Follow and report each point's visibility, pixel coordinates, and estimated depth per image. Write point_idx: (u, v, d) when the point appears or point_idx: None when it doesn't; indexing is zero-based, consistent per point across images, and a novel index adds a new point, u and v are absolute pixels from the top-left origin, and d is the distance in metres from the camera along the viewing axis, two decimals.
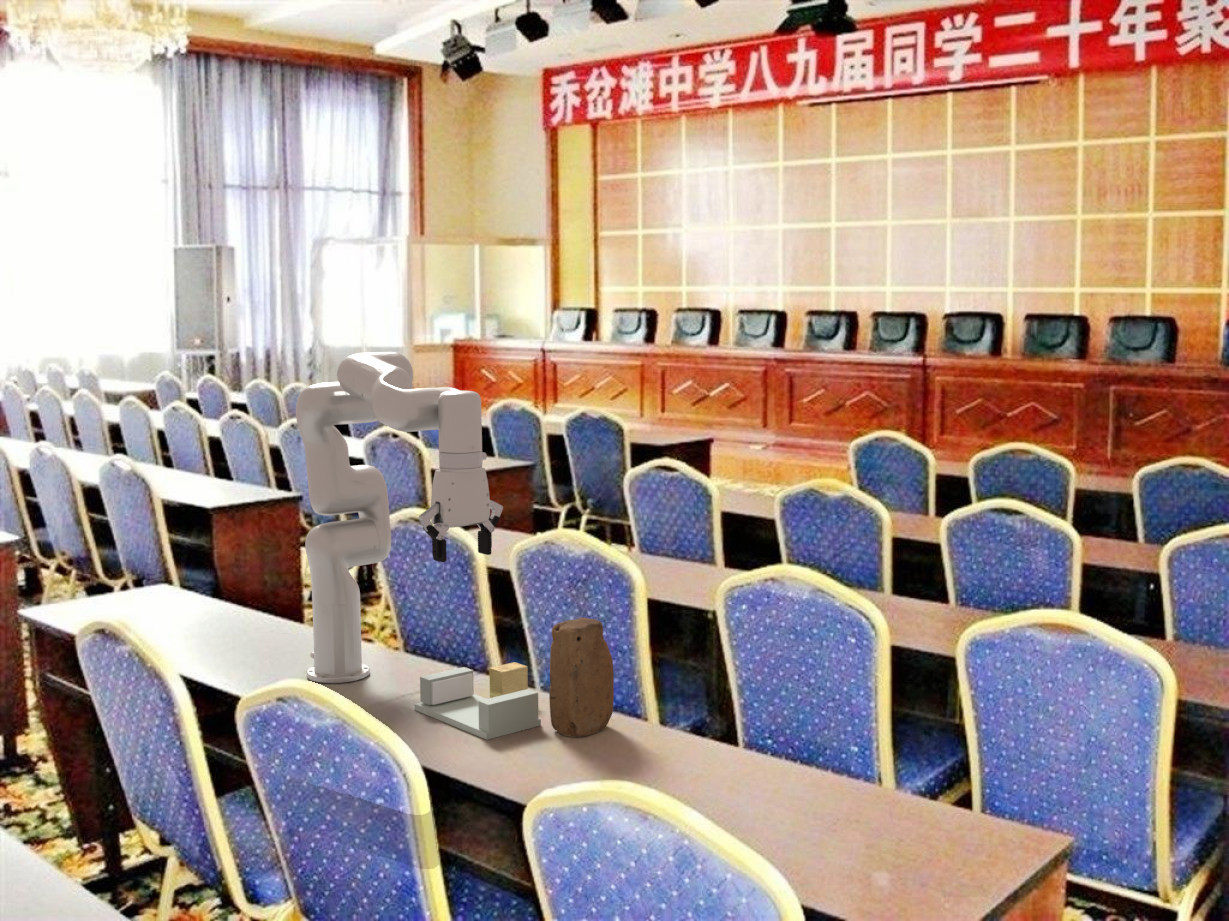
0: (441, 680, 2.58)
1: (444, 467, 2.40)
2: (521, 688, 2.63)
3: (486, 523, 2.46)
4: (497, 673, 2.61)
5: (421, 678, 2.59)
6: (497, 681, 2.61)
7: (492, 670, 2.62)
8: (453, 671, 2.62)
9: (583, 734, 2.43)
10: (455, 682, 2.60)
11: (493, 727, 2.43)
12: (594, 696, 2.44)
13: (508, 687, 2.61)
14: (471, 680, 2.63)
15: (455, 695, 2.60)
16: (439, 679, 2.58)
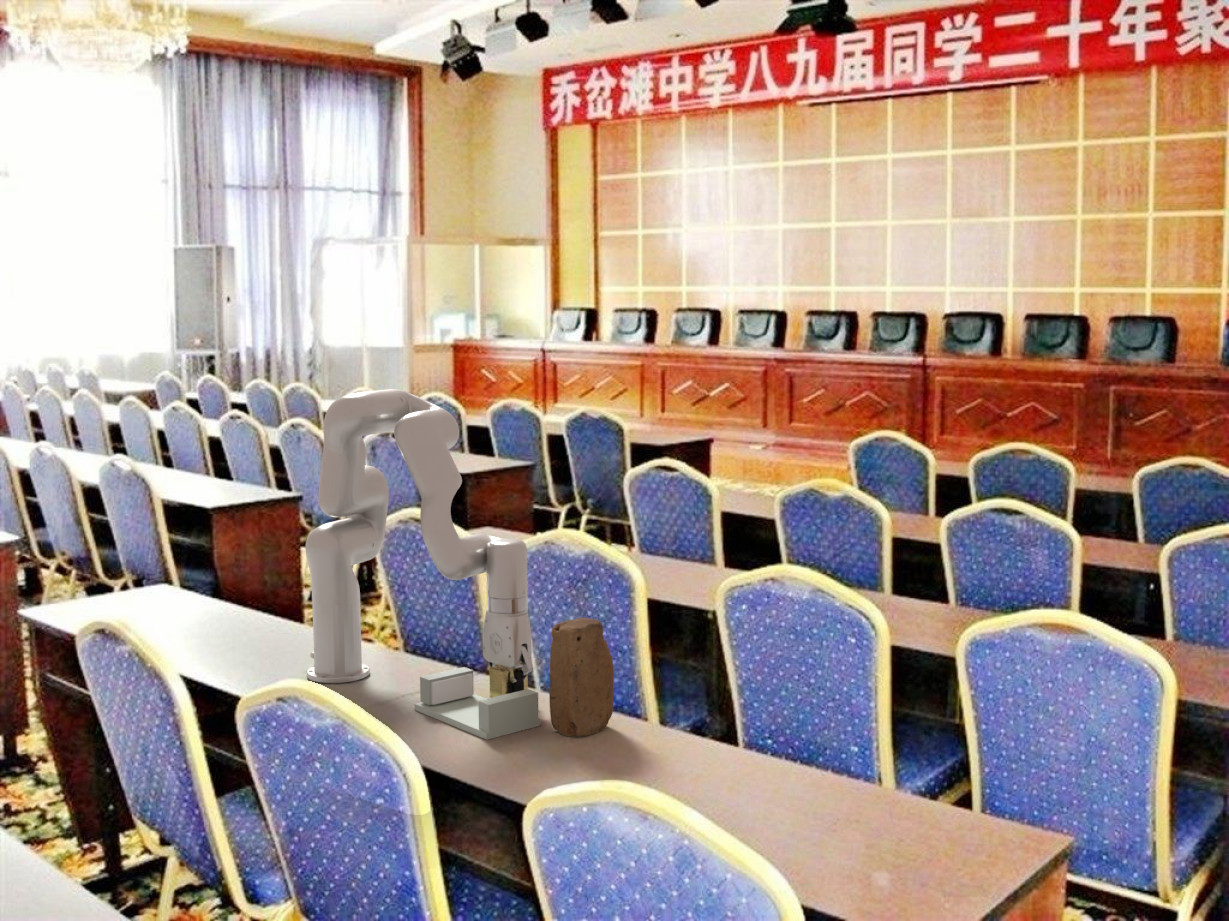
0: (441, 680, 2.58)
1: (520, 611, 2.59)
2: None
3: None
4: (497, 673, 2.61)
5: (421, 678, 2.59)
6: (497, 680, 2.61)
7: (492, 670, 2.62)
8: (453, 671, 2.62)
9: (583, 734, 2.43)
10: (455, 682, 2.60)
11: (493, 727, 2.43)
12: (594, 696, 2.44)
13: (508, 687, 2.61)
14: (471, 680, 2.63)
15: (455, 695, 2.60)
16: (439, 679, 2.58)
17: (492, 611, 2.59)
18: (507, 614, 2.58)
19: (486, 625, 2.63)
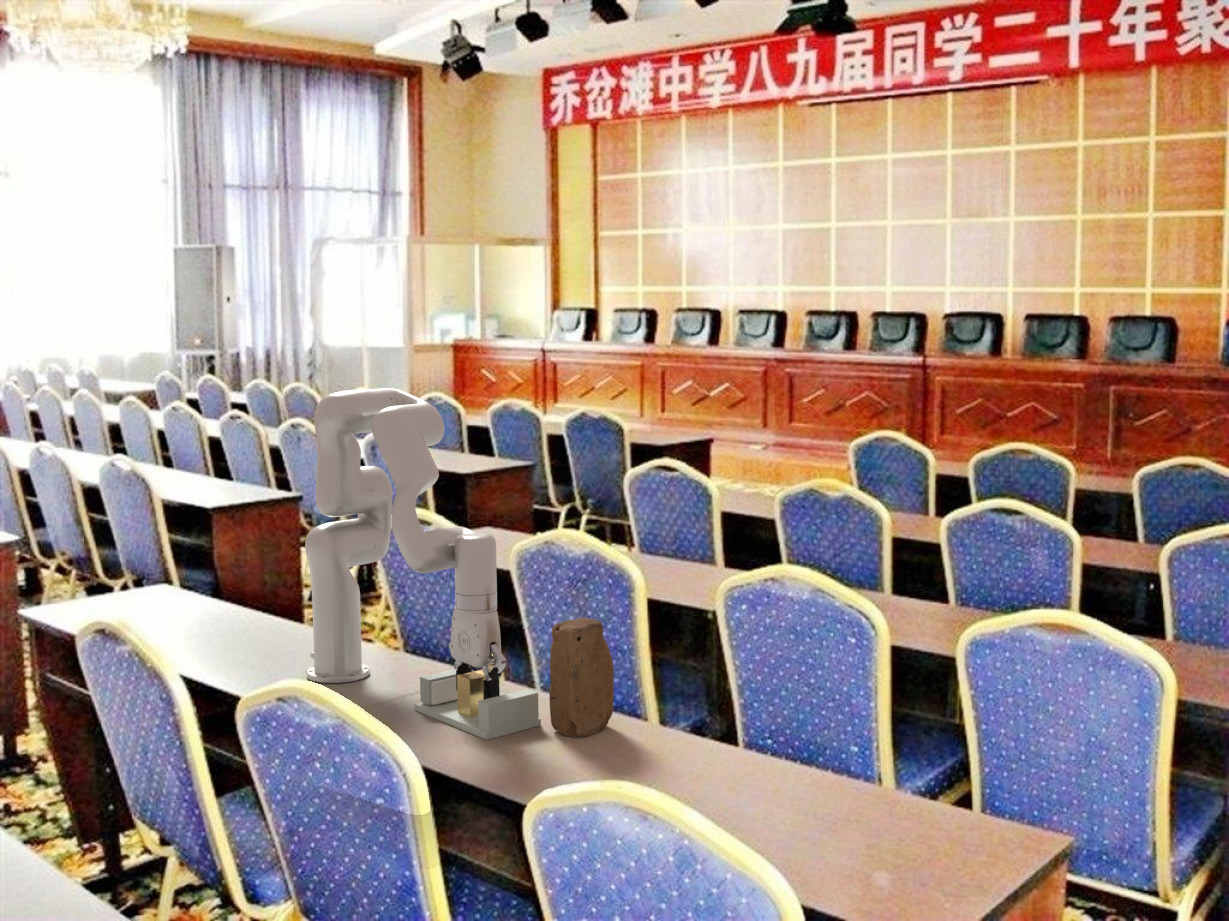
0: (441, 680, 2.58)
1: (489, 608, 2.49)
2: None
3: None
4: (464, 681, 2.51)
5: (421, 678, 2.59)
6: (465, 689, 2.51)
7: (459, 678, 2.53)
8: (453, 671, 2.62)
9: (583, 734, 2.43)
10: (455, 682, 2.60)
11: (493, 727, 2.43)
12: (594, 696, 2.44)
13: (476, 696, 2.52)
14: None
15: (455, 695, 2.60)
16: (439, 679, 2.58)
17: (460, 608, 2.49)
18: (475, 611, 2.48)
19: (454, 622, 2.53)
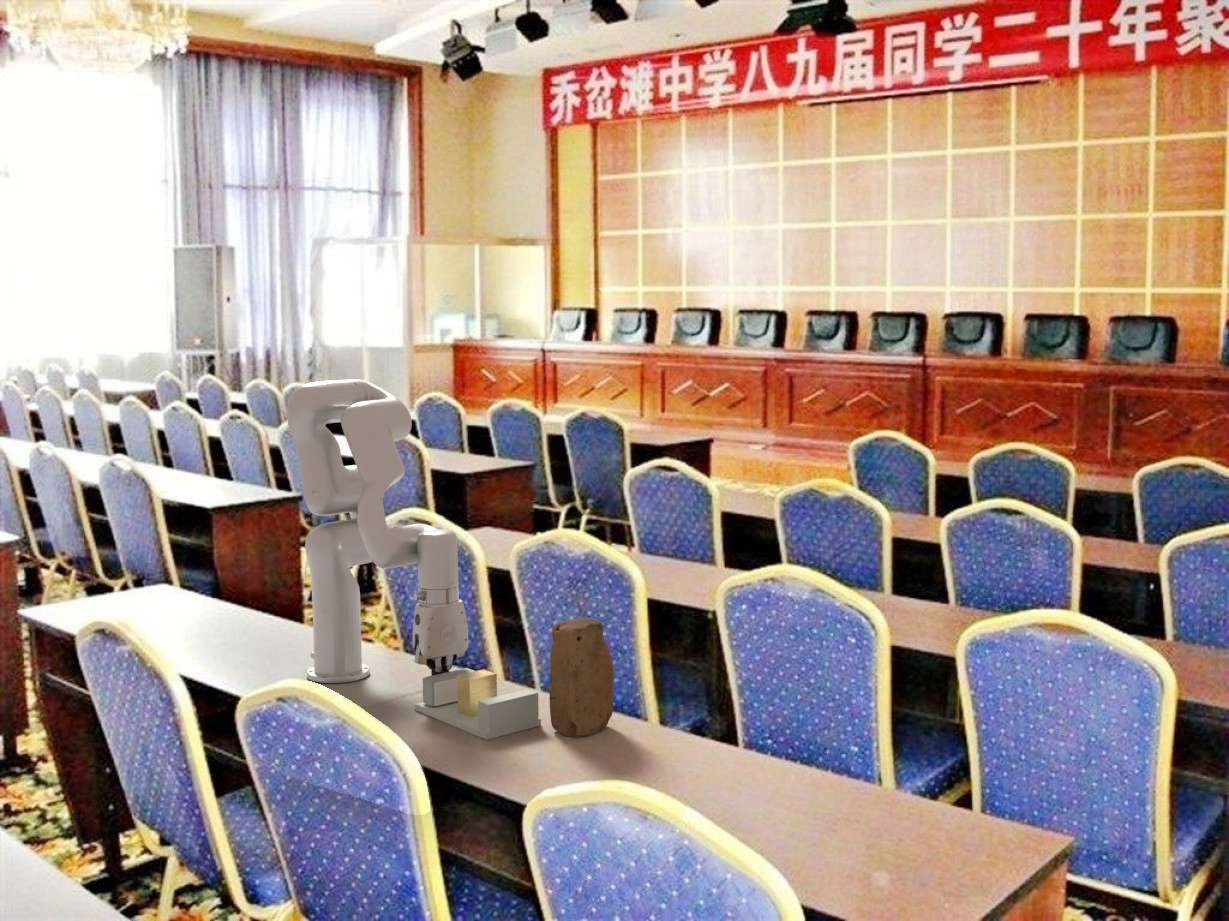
0: (444, 681, 2.58)
1: None
2: (490, 696, 2.54)
3: None
4: (464, 681, 2.51)
5: (424, 679, 2.58)
6: (465, 689, 2.51)
7: (459, 678, 2.53)
8: (456, 672, 2.62)
9: (583, 734, 2.43)
10: None
11: (493, 727, 2.43)
12: (594, 696, 2.44)
13: (476, 696, 2.52)
14: None
15: None
16: (442, 680, 2.58)
17: (451, 602, 2.59)
18: (458, 600, 2.61)
19: (432, 622, 2.57)
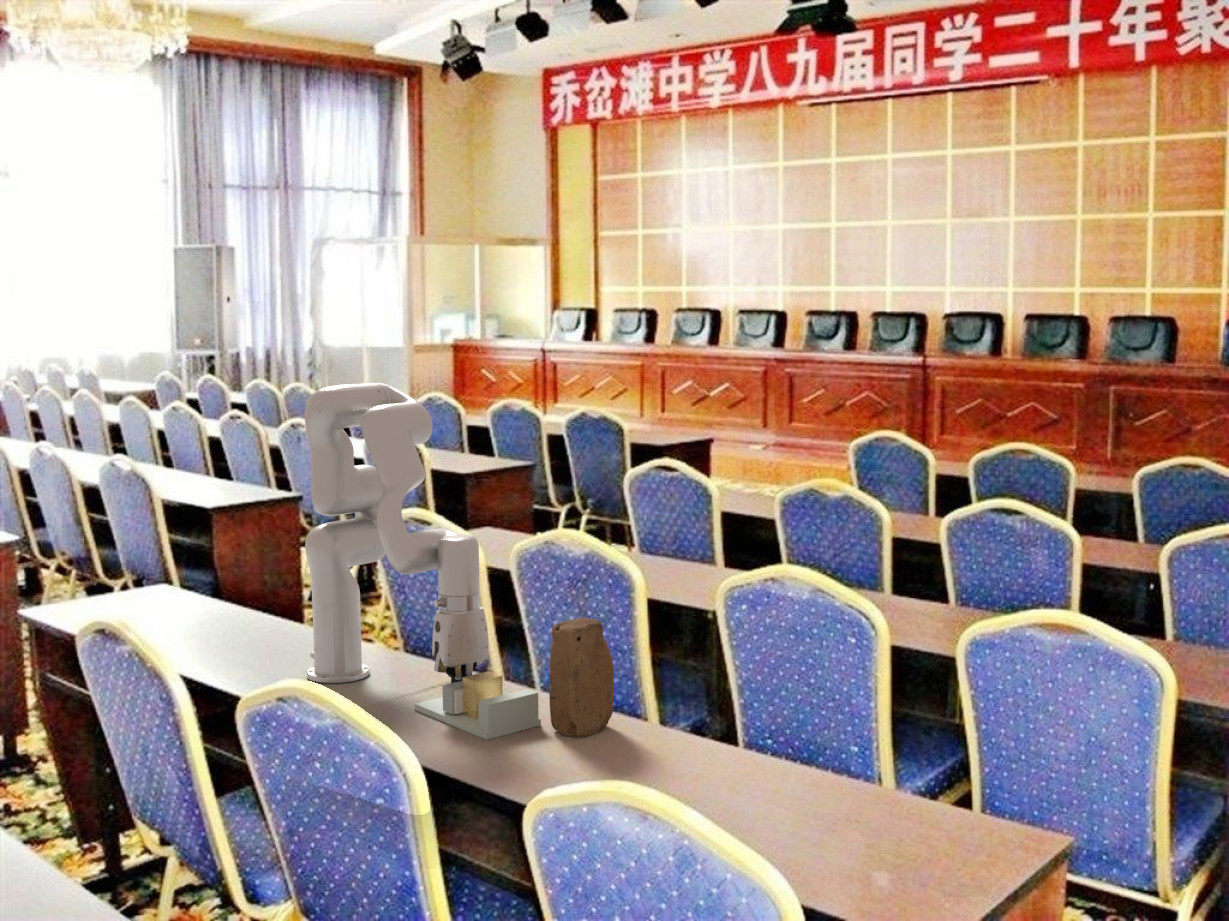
0: None
1: None
2: None
3: None
4: (470, 683, 2.50)
5: (444, 687, 2.53)
6: (470, 691, 2.50)
7: (465, 680, 2.51)
8: None
9: (583, 734, 2.43)
10: None
11: (493, 727, 2.43)
12: (594, 696, 2.44)
13: (482, 698, 2.50)
14: None
15: None
16: (462, 688, 2.53)
17: (471, 609, 2.53)
18: (479, 607, 2.56)
19: (452, 629, 2.52)
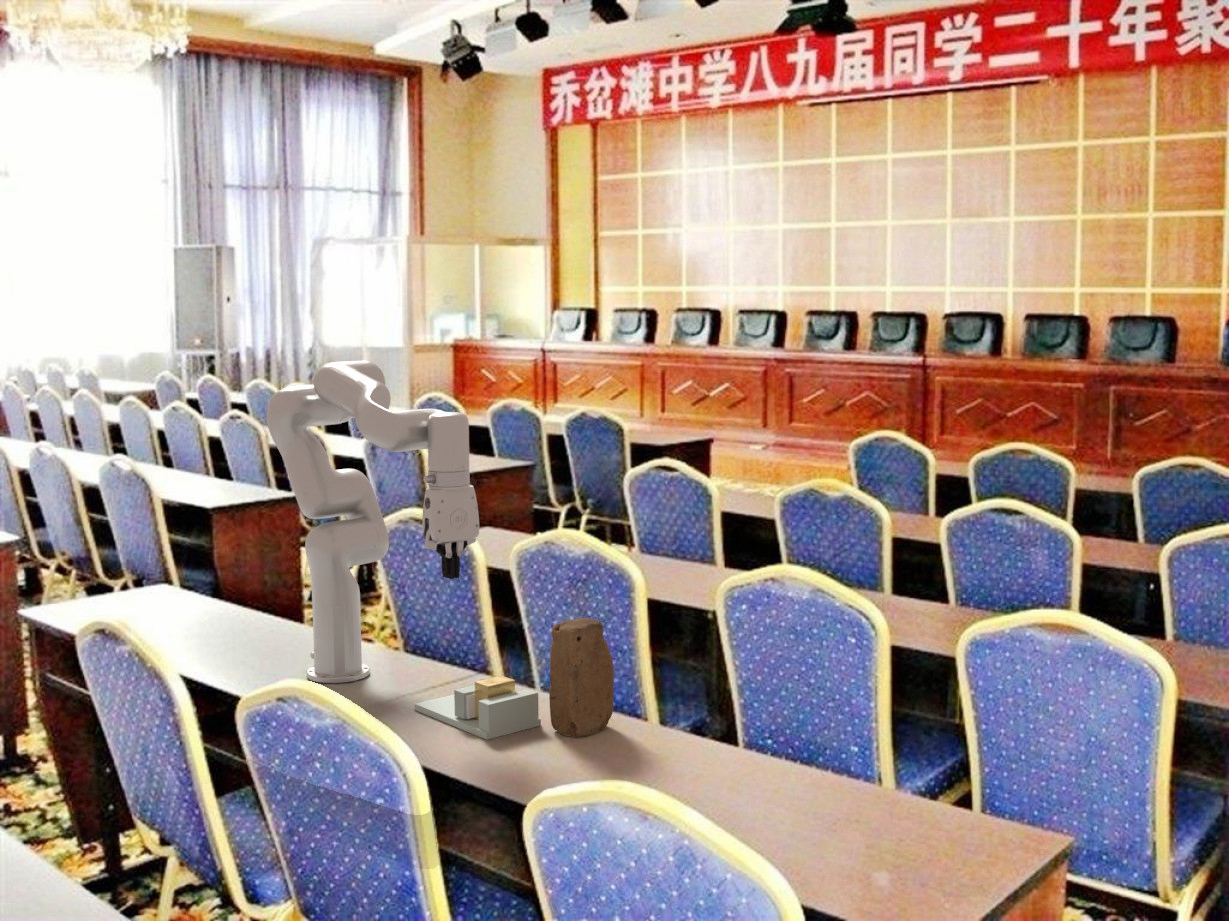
0: None
1: None
2: None
3: None
4: (482, 687, 2.47)
5: (455, 691, 2.50)
6: (483, 695, 2.47)
7: (477, 684, 2.48)
8: None
9: (583, 734, 2.43)
10: None
11: (493, 727, 2.43)
12: (594, 696, 2.44)
13: None
14: None
15: None
16: (474, 692, 2.50)
17: (461, 485, 2.52)
18: (469, 484, 2.55)
19: (442, 505, 2.51)
